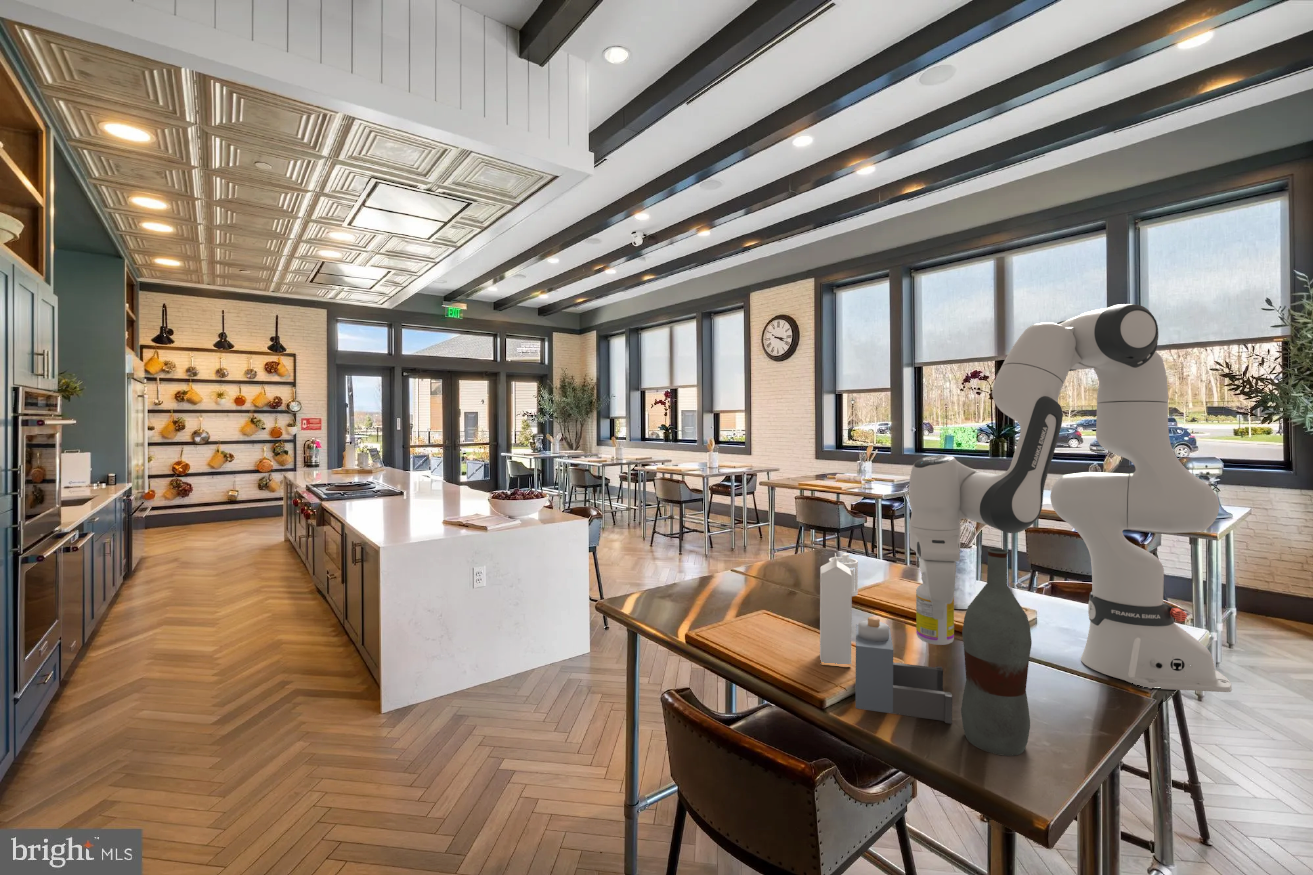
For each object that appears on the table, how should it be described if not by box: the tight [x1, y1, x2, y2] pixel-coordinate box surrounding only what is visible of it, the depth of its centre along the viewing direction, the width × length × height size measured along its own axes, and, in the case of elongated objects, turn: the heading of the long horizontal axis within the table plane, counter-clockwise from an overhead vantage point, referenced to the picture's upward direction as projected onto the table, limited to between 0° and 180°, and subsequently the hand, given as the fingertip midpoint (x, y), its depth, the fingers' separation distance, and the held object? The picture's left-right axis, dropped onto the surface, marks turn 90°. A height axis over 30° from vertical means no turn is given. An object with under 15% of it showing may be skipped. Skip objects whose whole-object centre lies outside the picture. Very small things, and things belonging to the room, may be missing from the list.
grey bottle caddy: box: [855, 616, 953, 725], centre depth 106 cm, size 15×15×14 cm
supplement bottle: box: [915, 572, 955, 646], centre depth 114 cm, size 7×7×13 cm
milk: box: [819, 552, 853, 665], centre depth 122 cm, size 6×6×22 cm
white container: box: [828, 553, 859, 597], centre depth 151 cm, size 7×7×15 cm
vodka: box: [960, 547, 1032, 757], centre depth 91 cm, size 9×9×30 cm
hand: (935, 610), depth 114 cm, fingers closed on supplement bottle, 7 cm apart
